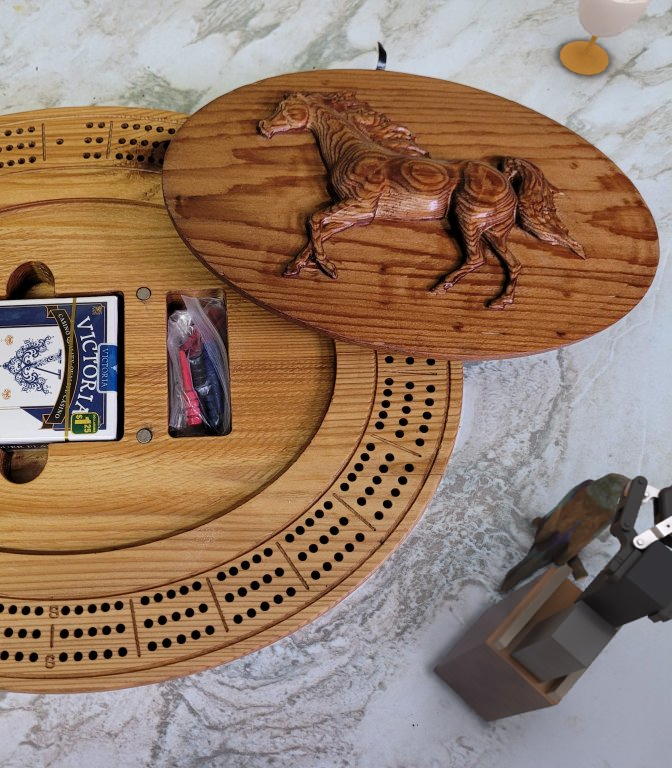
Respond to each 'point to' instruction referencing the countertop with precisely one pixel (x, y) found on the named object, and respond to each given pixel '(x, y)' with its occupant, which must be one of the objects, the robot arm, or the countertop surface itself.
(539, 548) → the bird figurine
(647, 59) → the countertop surface
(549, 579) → the pad mount
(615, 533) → the robot arm
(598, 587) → the back pad
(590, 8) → the cup
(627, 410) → the countertop surface
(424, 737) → the countertop surface
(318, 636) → the countertop surface
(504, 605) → the pedestal
